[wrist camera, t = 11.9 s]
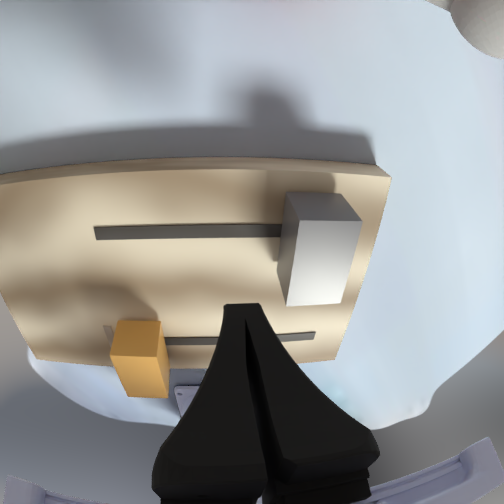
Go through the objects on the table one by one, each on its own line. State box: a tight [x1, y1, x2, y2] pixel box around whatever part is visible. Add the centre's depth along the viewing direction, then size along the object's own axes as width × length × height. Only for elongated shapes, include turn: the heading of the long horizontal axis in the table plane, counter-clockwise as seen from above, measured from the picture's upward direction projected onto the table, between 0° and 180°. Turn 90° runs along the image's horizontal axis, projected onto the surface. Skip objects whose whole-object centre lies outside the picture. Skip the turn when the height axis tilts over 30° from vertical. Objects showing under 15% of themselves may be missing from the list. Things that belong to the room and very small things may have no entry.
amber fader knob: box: [110, 320, 170, 398], centre depth 20 cm, size 5×3×3 cm, turn 177°
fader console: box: [0, 157, 392, 369], centre depth 20 cm, size 16×26×2 cm, turn 86°
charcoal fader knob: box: [276, 192, 363, 306], centre depth 17 cm, size 5×3×3 cm, turn 176°
